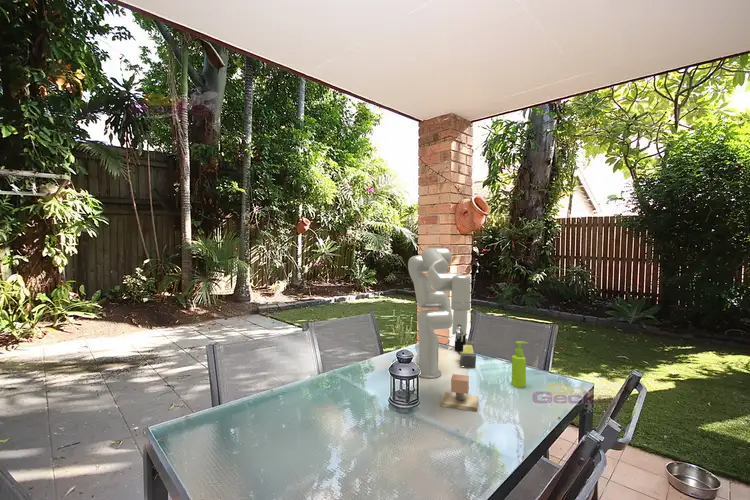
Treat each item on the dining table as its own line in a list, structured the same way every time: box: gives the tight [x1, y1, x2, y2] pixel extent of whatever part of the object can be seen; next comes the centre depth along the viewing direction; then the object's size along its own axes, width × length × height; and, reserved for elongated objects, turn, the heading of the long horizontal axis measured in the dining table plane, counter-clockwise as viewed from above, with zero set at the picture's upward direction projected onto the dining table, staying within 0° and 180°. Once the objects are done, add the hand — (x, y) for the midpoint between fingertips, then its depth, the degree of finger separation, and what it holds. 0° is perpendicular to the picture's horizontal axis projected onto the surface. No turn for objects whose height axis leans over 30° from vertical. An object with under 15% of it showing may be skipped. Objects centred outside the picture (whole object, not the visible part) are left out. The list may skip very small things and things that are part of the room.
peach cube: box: [450, 373, 470, 395], centre depth 144 cm, size 6×6×5 cm
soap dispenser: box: [511, 340, 529, 389], centre depth 162 cm, size 6×7×20 cm
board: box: [439, 391, 479, 412], centre depth 144 cm, size 14×11×10 cm
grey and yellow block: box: [457, 332, 477, 368], centre depth 200 cm, size 8×17×30 cm
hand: (460, 347), depth 144 cm, fingers open, 9 cm apart
